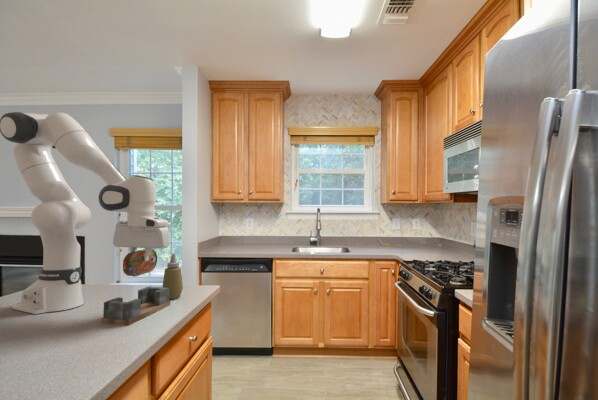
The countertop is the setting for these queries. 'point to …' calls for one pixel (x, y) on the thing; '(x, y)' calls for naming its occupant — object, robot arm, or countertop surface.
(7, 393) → the countertop surface
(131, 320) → the stand
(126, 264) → the tin
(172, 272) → the squeeze bottle
